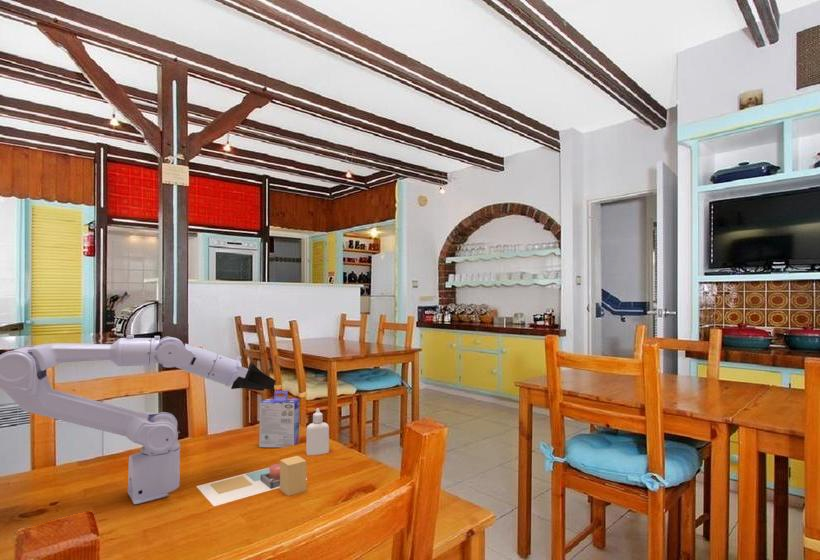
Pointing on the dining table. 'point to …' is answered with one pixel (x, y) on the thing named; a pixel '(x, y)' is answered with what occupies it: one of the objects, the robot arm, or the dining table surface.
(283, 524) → the dining table surface
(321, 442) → the eye dropper bottle
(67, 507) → the dining table surface
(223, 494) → the white board with squares
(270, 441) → the ink cartridge box
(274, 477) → the button
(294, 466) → the ochre block
